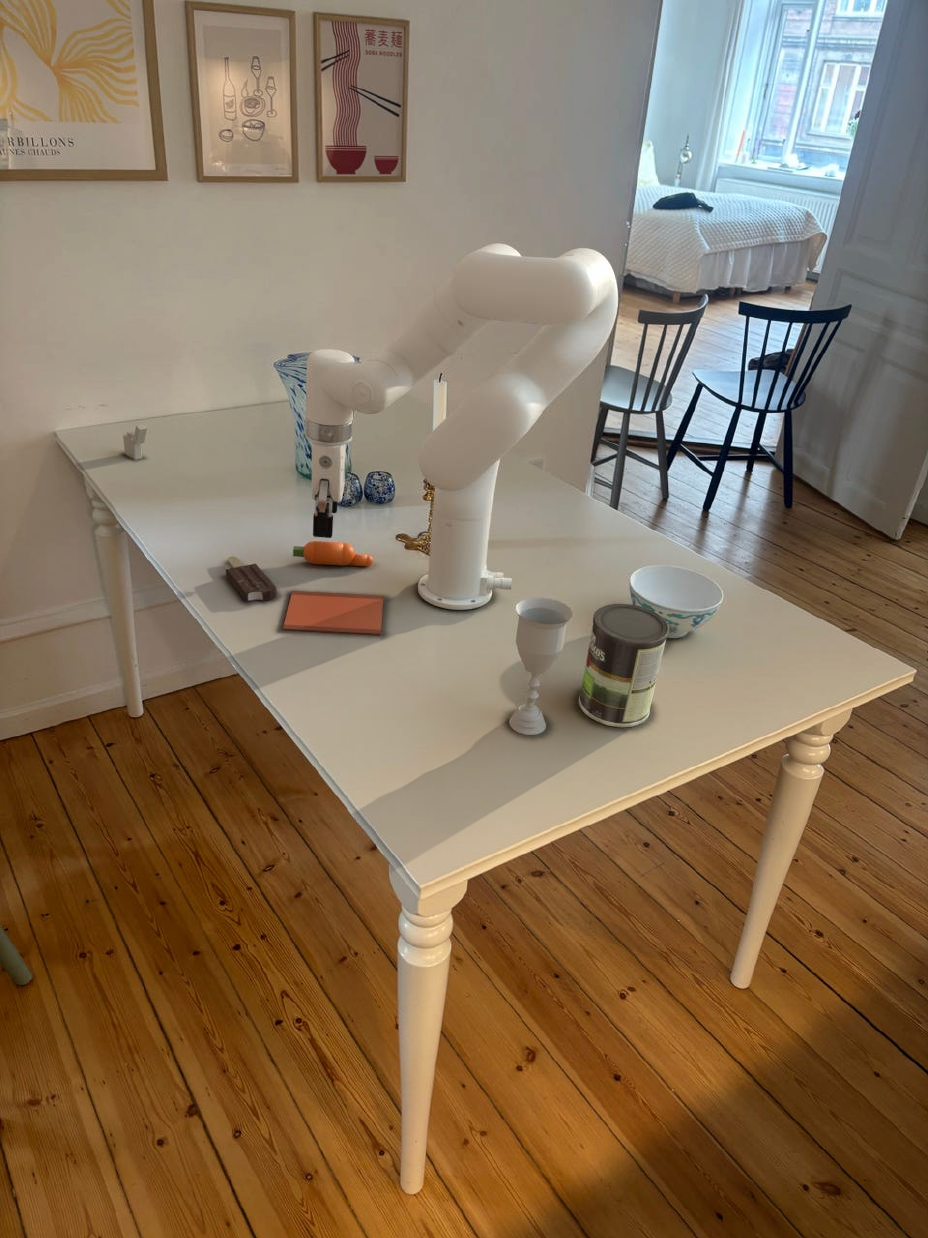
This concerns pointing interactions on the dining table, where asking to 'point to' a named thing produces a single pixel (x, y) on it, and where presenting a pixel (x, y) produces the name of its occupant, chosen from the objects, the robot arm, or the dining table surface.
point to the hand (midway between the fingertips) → (325, 523)
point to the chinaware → (676, 596)
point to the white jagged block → (134, 442)
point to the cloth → (334, 613)
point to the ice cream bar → (250, 581)
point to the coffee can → (622, 664)
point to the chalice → (538, 653)
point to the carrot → (331, 554)
